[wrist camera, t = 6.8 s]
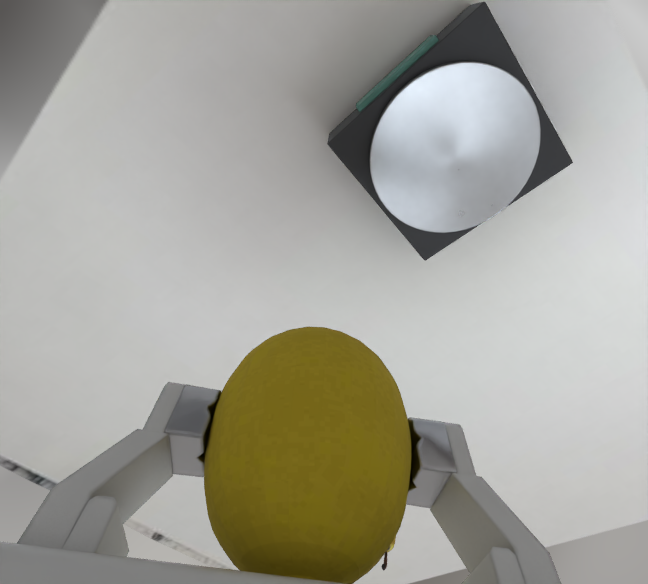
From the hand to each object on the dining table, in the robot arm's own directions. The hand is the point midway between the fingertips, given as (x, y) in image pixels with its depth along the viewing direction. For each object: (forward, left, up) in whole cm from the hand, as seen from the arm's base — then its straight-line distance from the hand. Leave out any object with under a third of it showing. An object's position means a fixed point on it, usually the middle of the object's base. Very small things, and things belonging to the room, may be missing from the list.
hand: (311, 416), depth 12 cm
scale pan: (-5, +6, -16) cm, 18 cm away
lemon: (0, 0, -4) cm, 4 cm away
